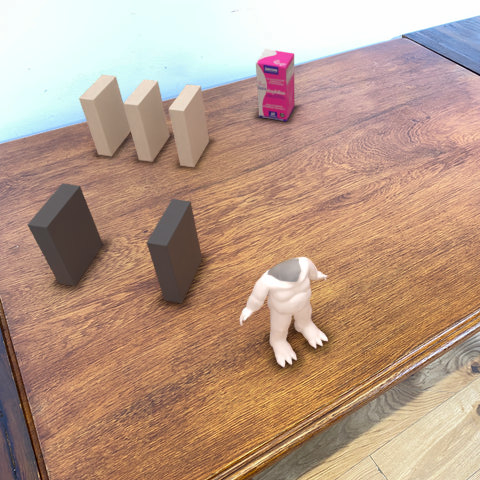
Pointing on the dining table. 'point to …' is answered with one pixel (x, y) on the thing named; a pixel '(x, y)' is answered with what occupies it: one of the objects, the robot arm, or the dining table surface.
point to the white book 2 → (147, 120)
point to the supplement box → (275, 84)
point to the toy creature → (287, 304)
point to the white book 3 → (189, 125)
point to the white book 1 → (105, 114)
